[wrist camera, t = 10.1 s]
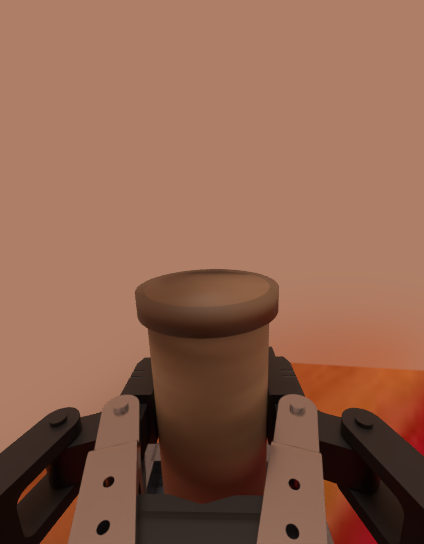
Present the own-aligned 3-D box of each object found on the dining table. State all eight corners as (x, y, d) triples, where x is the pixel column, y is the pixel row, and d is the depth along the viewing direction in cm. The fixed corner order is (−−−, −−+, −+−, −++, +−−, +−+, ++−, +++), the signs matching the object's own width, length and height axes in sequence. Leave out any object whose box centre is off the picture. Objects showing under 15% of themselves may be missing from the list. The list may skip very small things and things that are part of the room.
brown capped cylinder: (262, 478, 14) (265, 267, 12) (283, 615, 10) (296, 309, 7) (173, 477, 15) (155, 270, 12) (149, 610, 10) (109, 312, 7)
